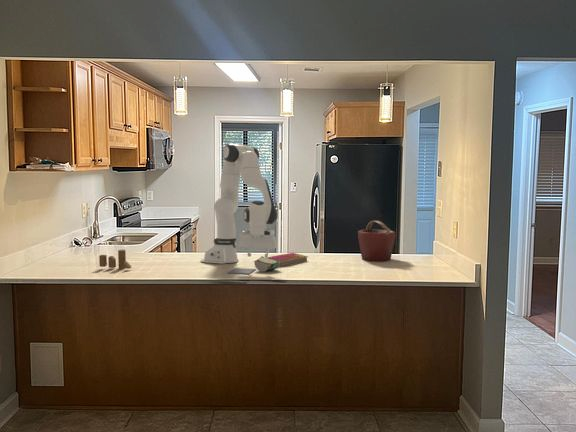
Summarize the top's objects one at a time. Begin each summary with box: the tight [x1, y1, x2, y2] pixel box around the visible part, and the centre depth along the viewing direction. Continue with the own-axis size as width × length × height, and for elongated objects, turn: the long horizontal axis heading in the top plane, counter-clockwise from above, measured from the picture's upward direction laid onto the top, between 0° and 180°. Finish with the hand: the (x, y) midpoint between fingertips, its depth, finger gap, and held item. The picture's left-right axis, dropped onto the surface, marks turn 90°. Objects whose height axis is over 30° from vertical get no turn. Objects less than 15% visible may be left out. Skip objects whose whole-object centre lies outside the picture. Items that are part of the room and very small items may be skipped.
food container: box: [253, 255, 280, 273], centre depth 304 cm, size 12×6×10 cm
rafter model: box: [253, 252, 309, 268], centre depth 327 cm, size 35×14×6 cm, turn 142°
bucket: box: [357, 220, 396, 263], centre depth 339 cm, size 24×22×25 cm
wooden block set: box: [98, 249, 132, 270], centre depth 304 cm, size 18×9×10 cm, turn 84°
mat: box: [227, 267, 257, 276], centre depth 300 cm, size 12×14×1 cm
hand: (257, 256), depth 297 cm, fingers open, 8 cm apart
